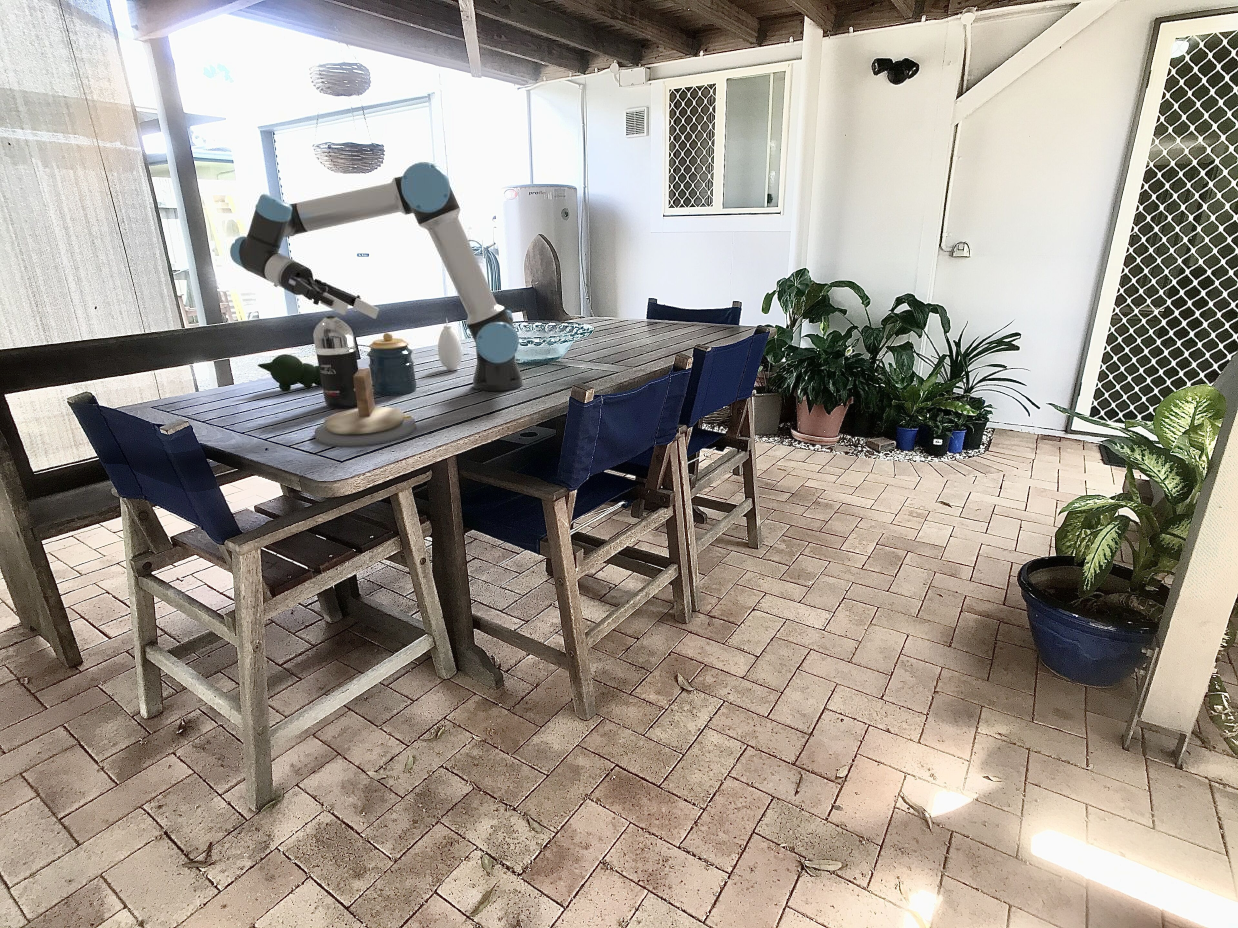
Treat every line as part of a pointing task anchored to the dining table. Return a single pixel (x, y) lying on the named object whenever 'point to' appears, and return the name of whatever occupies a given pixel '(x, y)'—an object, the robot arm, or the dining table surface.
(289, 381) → the toy figurine
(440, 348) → the white tall oval piece
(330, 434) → the base
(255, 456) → the dining table surface
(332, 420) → the dial
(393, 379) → the canister
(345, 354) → the black chrome cylinder
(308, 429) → the dining table surface
